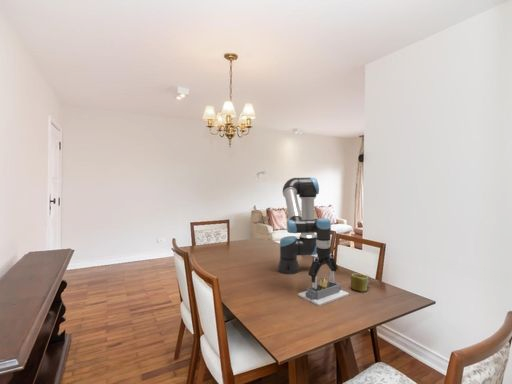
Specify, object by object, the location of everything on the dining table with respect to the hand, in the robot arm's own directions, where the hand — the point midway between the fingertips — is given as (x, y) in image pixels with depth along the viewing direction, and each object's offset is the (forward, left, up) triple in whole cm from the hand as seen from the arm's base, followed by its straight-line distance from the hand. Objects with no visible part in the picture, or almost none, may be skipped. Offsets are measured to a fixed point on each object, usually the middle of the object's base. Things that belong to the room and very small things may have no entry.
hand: (323, 285), depth 153 cm
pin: (0, 0, -4) cm, 5 cm away
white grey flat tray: (0, 0, -5) cm, 6 cm away
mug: (+7, +24, -6) cm, 26 cm away
